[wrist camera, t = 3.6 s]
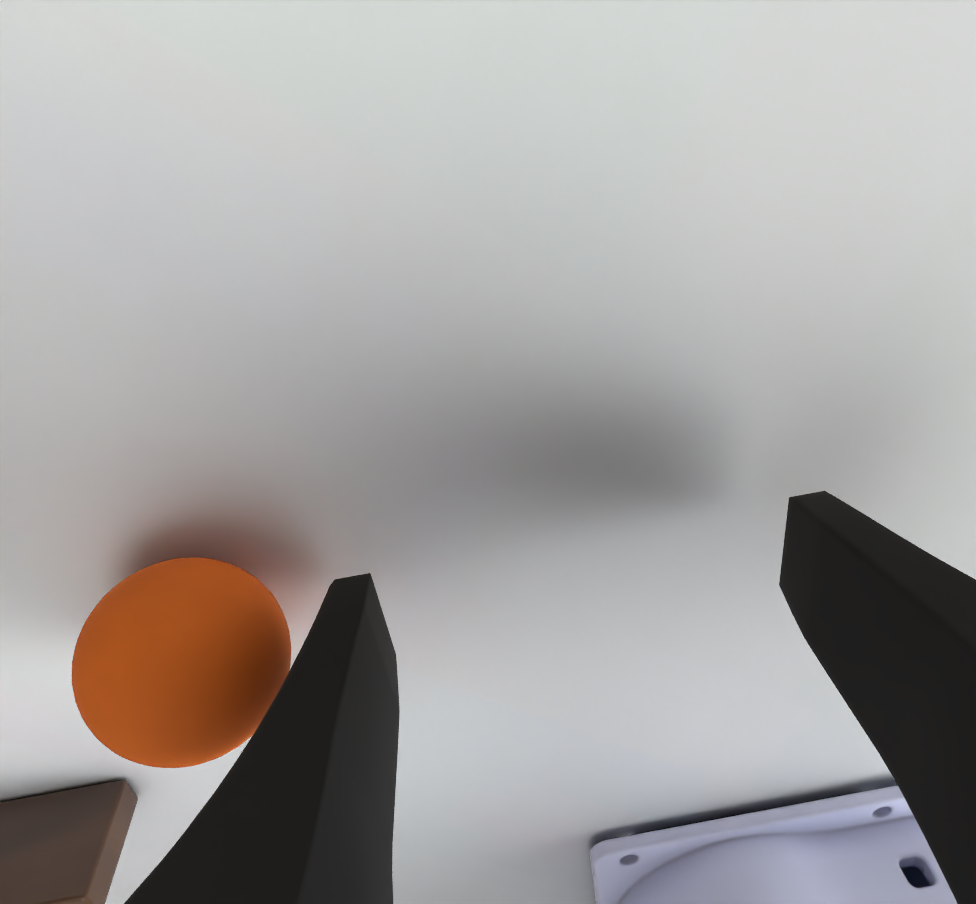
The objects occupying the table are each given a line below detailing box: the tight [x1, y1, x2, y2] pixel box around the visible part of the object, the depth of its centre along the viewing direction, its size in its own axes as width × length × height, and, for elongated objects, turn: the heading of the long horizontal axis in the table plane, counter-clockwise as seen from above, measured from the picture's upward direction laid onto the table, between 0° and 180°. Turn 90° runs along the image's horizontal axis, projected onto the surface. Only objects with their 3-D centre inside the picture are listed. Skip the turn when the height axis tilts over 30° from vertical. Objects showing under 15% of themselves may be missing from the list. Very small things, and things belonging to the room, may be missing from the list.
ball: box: [72, 557, 291, 768], centre depth 12 cm, size 3×3×3 cm
